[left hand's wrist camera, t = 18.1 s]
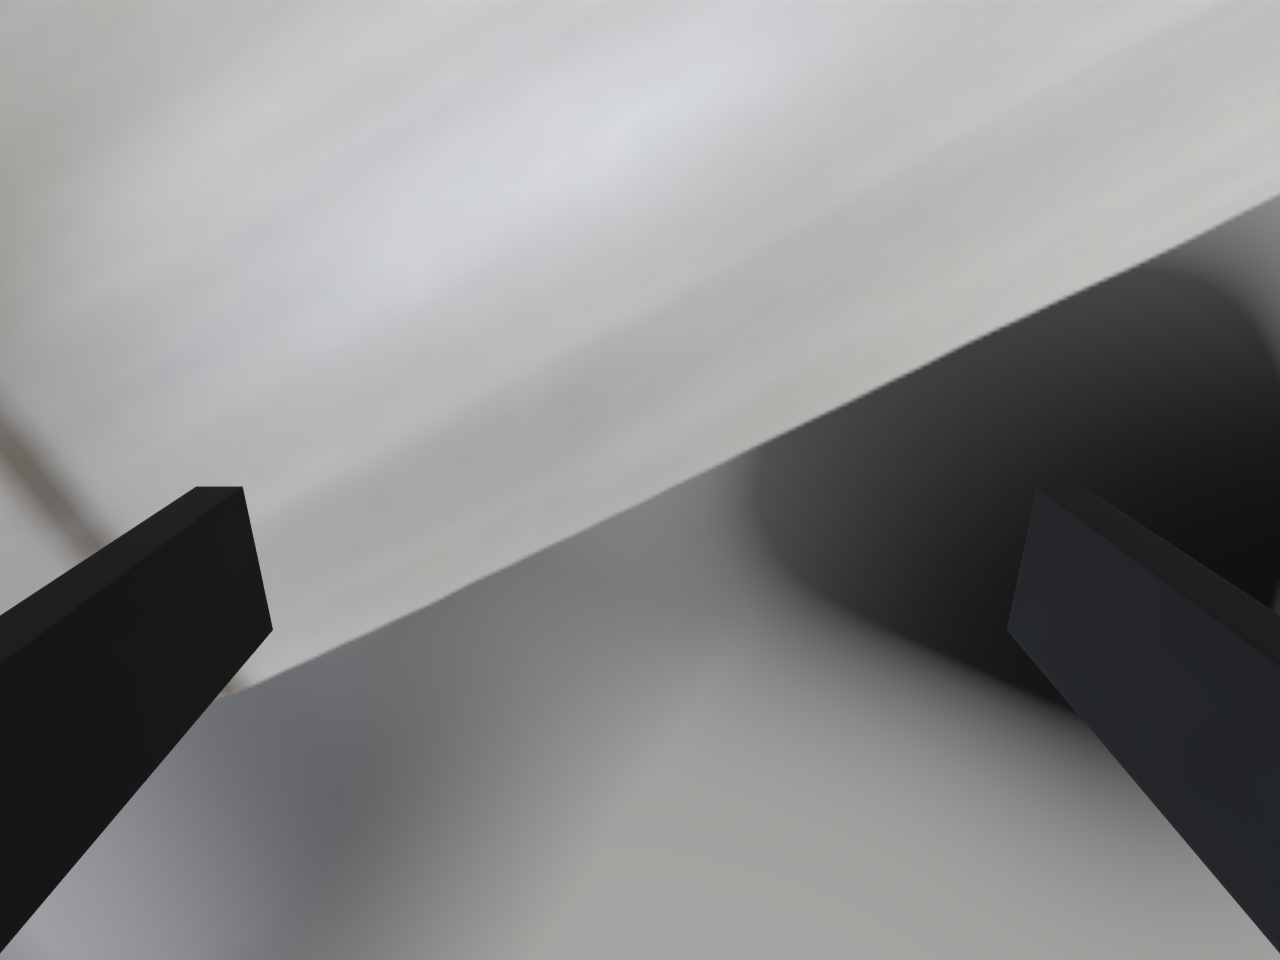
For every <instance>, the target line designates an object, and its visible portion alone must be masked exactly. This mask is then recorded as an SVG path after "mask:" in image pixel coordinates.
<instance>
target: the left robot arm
mask: <svg viewBox="0 0 1280 960" xmlns="http://www.w3.org/2000/svg"><path fill="white" fill-rule="evenodd" d="M272 630H273V628H272V623H271V618H270V614H269V609H268V604H267V599H266V595H265V590H264V585H263V580H262V576H261V571H260V566H259V562H258V557H257V552H256V547H255V543H254V538H253V533H252V529H251V524H250V519H249V514H248V510H247V505H246V500H245V495H244V491H243V487H195V488H193V489H192V490H190V491H189V492H187V493H186V494H184V495H183V496H181V497H180V498H178V499H177V500H175V501H174V502H172V503H171V504H169V505H168V506H166V507H165V508H163V509H162V510H160V511H158V512H157V513H155V514H154V515H152V516H151V517H149V518H148V519H146V520H145V521H143V522H142V523H140V524H139V525H137V526H136V527H134V528H133V529H131V530H130V531H128V532H127V533H125V534H124V535H122V536H120V537H119V538H117V539H116V540H114V541H113V542H111V543H110V544H108V545H107V546H105V547H104V548H102V549H101V550H99V551H98V552H96V553H95V554H93V555H92V556H90V557H89V558H87V559H86V560H84V561H82V562H81V563H79V564H78V565H76V566H75V567H73V568H72V569H70V570H69V571H67V572H66V573H64V574H63V575H61V576H60V577H58V578H57V579H55V580H54V581H52V582H51V583H49V584H48V585H46V586H44V587H43V588H41V589H40V590H38V591H37V592H35V593H34V594H32V595H31V596H29V597H28V598H26V599H25V600H23V601H22V602H20V603H19V604H17V605H16V606H14V607H13V608H11V609H10V610H8V611H6V612H5V613H3V614H2V615H0V953H1V952H2V950H3V949H4V948H5V947H6V946H7V944H8V943H9V942H10V941H11V940H12V939H13V937H14V936H15V935H16V934H17V933H18V931H19V930H20V929H21V928H22V927H23V925H24V924H25V923H26V922H27V921H28V920H29V918H30V917H31V916H32V915H33V914H34V913H35V911H36V910H37V909H38V908H39V907H40V905H41V904H42V903H43V902H44V901H45V899H46V898H47V897H48V896H49V895H50V894H51V892H52V891H53V890H54V889H55V888H56V886H57V885H58V884H59V883H60V882H61V881H62V879H63V878H64V877H65V876H66V875H67V873H68V872H69V871H70V870H71V869H72V867H73V866H74V865H75V864H76V863H77V862H78V860H79V859H80V858H81V857H82V856H83V854H84V853H85V852H86V851H87V850H88V849H89V847H90V846H91V845H92V844H93V843H94V841H95V840H96V839H97V838H98V837H99V835H100V834H101V833H102V832H103V831H104V830H105V828H106V827H107V826H108V825H109V824H110V822H111V821H112V820H113V819H114V818H115V816H116V815H117V814H118V813H119V812H120V811H121V809H122V808H123V807H124V806H125V805H126V803H127V802H128V801H129V800H130V799H131V798H132V796H133V795H134V794H135V793H136V792H137V790H138V789H139V788H140V787H141V786H142V784H143V783H144V782H145V781H146V780H147V779H148V777H149V776H150V775H151V774H152V773H153V771H154V770H155V769H156V768H157V767H158V766H159V764H160V763H161V762H162V761H163V760H164V758H165V757H166V756H167V755H168V754H169V752H170V751H171V750H172V749H173V748H174V746H175V745H176V744H177V743H178V742H179V741H180V739H181V738H182V737H183V736H184V735H185V734H186V732H187V731H188V730H189V729H190V728H191V726H192V725H193V724H194V723H195V722H196V720H197V719H198V718H199V717H200V716H201V715H202V713H203V712H204V711H205V710H206V709H207V707H208V706H209V705H210V704H211V703H212V701H213V700H214V699H215V698H216V697H217V696H218V694H219V693H220V692H221V691H222V690H223V688H224V687H225V686H226V685H227V684H228V683H229V681H230V680H231V679H232V678H233V677H234V675H235V674H236V673H237V672H238V671H239V669H240V668H241V667H242V666H243V665H244V664H245V662H246V661H247V660H248V659H249V658H250V656H251V655H252V654H253V653H254V652H255V651H256V649H257V648H258V647H259V646H260V645H261V643H262V642H263V641H264V640H265V639H266V637H267V636H268V635H269V634H270V633H271V632H272ZM1007 630H1008V632H1009V633H1010V634H1011V635H1012V636H1013V637H1014V639H1015V640H1016V641H1017V642H1018V643H1019V645H1020V646H1021V647H1022V648H1023V649H1024V650H1025V652H1026V653H1027V654H1028V655H1029V656H1030V658H1031V659H1032V660H1033V661H1034V662H1035V664H1036V665H1037V666H1038V667H1039V668H1040V669H1041V671H1042V672H1043V673H1044V674H1045V675H1046V677H1047V678H1048V679H1049V680H1050V681H1051V682H1052V684H1053V685H1054V686H1055V687H1056V688H1057V690H1058V691H1059V692H1060V693H1061V694H1062V696H1063V697H1064V698H1065V699H1066V700H1067V702H1068V703H1069V704H1070V705H1071V706H1072V707H1073V709H1074V710H1075V711H1076V712H1077V713H1078V715H1079V716H1080V717H1081V718H1082V719H1083V720H1084V722H1085V723H1086V724H1087V725H1088V726H1089V728H1090V729H1091V730H1092V731H1093V732H1094V733H1095V735H1096V736H1097V737H1098V738H1099V739H1100V741H1101V742H1102V743H1103V744H1104V745H1105V747H1106V748H1107V749H1108V750H1109V751H1110V752H1111V754H1112V755H1113V756H1114V757H1115V758H1116V760H1117V761H1118V762H1119V763H1120V764H1121V766H1122V767H1123V768H1124V769H1125V770H1126V771H1127V773H1128V774H1129V775H1130V776H1131V777H1132V779H1133V780H1134V781H1135V782H1136V783H1137V784H1138V786H1139V787H1140V788H1141V789H1142V790H1143V792H1144V793H1145V794H1146V795H1147V796H1148V798H1149V799H1150V800H1151V801H1152V802H1153V803H1154V805H1155V806H1156V807H1157V808H1158V809H1159V811H1160V812H1161V813H1162V814H1163V815H1164V816H1165V818H1166V819H1167V820H1168V821H1169V822H1170V824H1171V825H1172V826H1173V827H1174V828H1175V830H1176V831H1177V832H1178V833H1179V834H1180V835H1181V837H1182V838H1183V839H1184V840H1185V841H1186V843H1187V844H1188V845H1189V846H1190V847H1191V848H1192V850H1193V851H1194V852H1195V853H1196V854H1197V856H1198V857H1199V858H1200V859H1201V860H1202V862H1203V863H1204V864H1205V865H1206V866H1207V867H1208V869H1209V870H1210V871H1211V872H1212V873H1213V875H1214V876H1215V877H1216V878H1217V879H1218V881H1219V882H1220V883H1221V884H1222V885H1223V886H1224V888H1225V889H1226V890H1227V891H1228V892H1229V894H1230V895H1231V896H1232V897H1233V898H1234V899H1235V901H1236V902H1237V903H1238V904H1239V905H1240V907H1241V908H1242V909H1243V910H1244V911H1245V912H1246V914H1247V915H1248V916H1249V917H1250V918H1251V920H1252V921H1253V922H1254V923H1255V924H1256V925H1257V927H1258V928H1259V929H1260V930H1261V931H1262V933H1263V934H1264V935H1265V936H1266V937H1267V939H1268V940H1269V941H1270V942H1271V943H1272V945H1273V946H1274V947H1275V948H1276V949H1277V950H1278V952H1279V953H1280V615H1278V614H1277V613H1275V612H1273V611H1272V610H1270V609H1269V608H1267V607H1266V606H1264V605H1263V604H1261V603H1260V602H1258V601H1257V600H1255V599H1254V598H1252V597H1251V596H1249V595H1248V594H1246V593H1245V592H1243V591H1242V590H1240V589H1239V588H1237V587H1236V586H1234V585H1232V584H1231V583H1229V582H1228V581H1226V580H1225V579H1223V578H1222V577H1220V576H1219V575H1217V574H1216V573H1214V572H1213V571H1211V570H1210V569H1208V568H1207V567H1205V566H1204V565H1202V564H1201V563H1199V562H1198V561H1196V560H1194V559H1193V558H1191V557H1190V556H1188V555H1187V554H1185V553H1184V552H1182V551H1181V550H1179V549H1178V548H1176V547H1175V546H1173V545H1172V544H1170V543H1169V542H1167V541H1166V540H1164V539H1163V538H1161V537H1160V536H1158V535H1156V534H1155V533H1153V532H1152V531H1150V530H1149V529H1147V528H1146V527H1144V526H1143V525H1141V524H1140V523H1138V522H1137V521H1135V520H1134V519H1132V518H1131V517H1129V516H1128V515H1126V514H1125V513H1123V512H1122V511H1120V510H1118V509H1117V508H1115V507H1114V506H1112V505H1111V504H1109V503H1108V502H1106V501H1105V500H1103V499H1102V498H1100V497H1099V496H1097V495H1096V494H1094V493H1093V492H1091V491H1090V490H1088V489H1087V488H1085V487H1037V491H1036V495H1035V500H1034V505H1033V510H1032V514H1031V519H1030V524H1029V529H1028V533H1027V538H1026V543H1025V547H1024V552H1023V557H1022V562H1021V566H1020V571H1019V576H1018V580H1017V585H1016V590H1015V595H1014V599H1013V604H1012V609H1011V613H1010V618H1009V623H1008V628H1007Z"/></svg>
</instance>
